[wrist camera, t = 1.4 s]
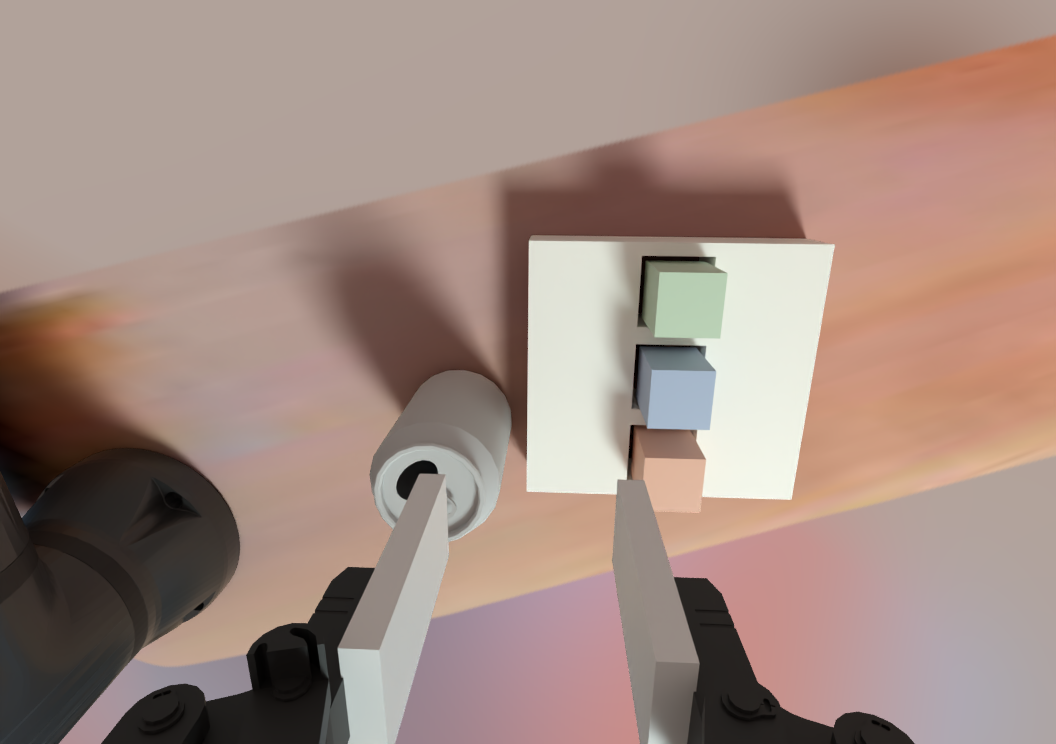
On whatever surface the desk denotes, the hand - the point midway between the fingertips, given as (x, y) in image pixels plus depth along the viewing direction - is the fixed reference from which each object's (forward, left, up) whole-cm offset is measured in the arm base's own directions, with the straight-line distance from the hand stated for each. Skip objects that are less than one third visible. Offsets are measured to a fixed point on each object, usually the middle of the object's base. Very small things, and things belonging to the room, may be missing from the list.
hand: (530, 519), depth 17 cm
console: (+8, -2, -25) cm, 26 cm away
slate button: (+8, -3, -22) cm, 23 cm away
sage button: (+8, +3, -22) cm, 23 cm away
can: (-6, -7, -25) cm, 27 cm away
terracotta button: (+8, -8, -22) cm, 25 cm away
